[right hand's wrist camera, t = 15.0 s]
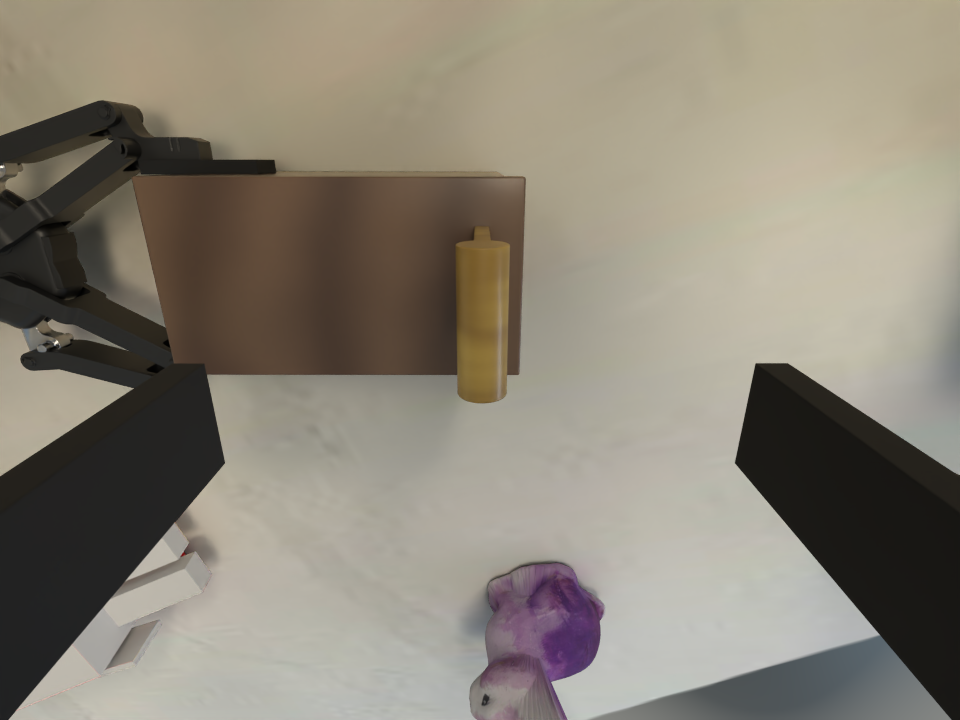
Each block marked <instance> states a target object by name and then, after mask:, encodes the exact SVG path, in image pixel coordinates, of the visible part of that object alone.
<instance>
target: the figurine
mask: <svg viewBox="0 0 960 720" xmlns="http://www.w3.org/2000/svg"><path fill="white" fill-rule="evenodd" d="M488 592H489V604H490V607H491V608H492V611H493V612H494V614H493V616H492V617H491V619H490V620H489V622H488V624H487V627H486V635H485V642H486V650H487V656H488V667H487V668H486V669H485V671H484V672H483V673H482V674H481V675H480V676H479V677H477V678H476V680H475V681H474V682H473V683H472V685H471V687H470V695H469V699H470V708H471V713H472V715H473V717H474V718H475V719H477V720H567V718H566V716H565V713H564V711H563V709H562V706H561V704H560V702H559V700H558V697H557V695H556V693H555V690H554V688H553V686H552V683H551V682H552V681H555V680H559V679H563V678H566V677H569V676H572V675H574V674H576V673H579V672H581V671H582V670H584V669H585V668H587V667H588V666H589V665H590V664H591V663H592V661H593V660H594V658H595V656H596V654H597V651H598V647H599V643H600V620H601V618H602V617H603V616H604V614H605V606H604V604H603V602H602V601H601V600H600V599H598V598H597V597H595V596H594V595H592V594H590V593H589V592H587V591H585V590H584V589H582V588H581V587H580V586H579V585H578V581H577V577H576V574H575V572H574V571H573V570H572V569H571V568H570V567H568V566H565V565H563V564H561V563H552V564H537V565H529V566H525V567H520V568H519V569H517V570H515V571H513V572H511V573H510V574H509V575H505V576H503V577H500V578H496V579H494V580H492V581H490V583H489V585H488Z"/></svg>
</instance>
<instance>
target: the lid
mask: <svg viewBox="0 0 960 720" xmlns="http://www.w3.org/2000/svg"><path fill="white" fill-rule="evenodd" d="M132 181H133V186H134V190H135V194H136V199H137V203H138V208H139V212H140V216H141V221H142V225H143V229H144V234H145V238H146V243H147V247H148V251H149V256H150V260H151V265H152V269H153V273H154V278H155V282H156V286H157V291H158V295H159V300H160V304H161V308H162V313H163V317H164V321H165V326H166V330H167V335H168V339H169V343H170V348H171V352H172V356H173V361H174V363H204V364H205V369H206V374H207V375H457V383H458V395H459V396H460V397H461V398H462V399H464V400H466V401H469V402H473V403H491V402H496V401H499V400H501V399H503V398H504V397H505V396H506V393H507V375H519V372H520V341H521V310H522V279H523V247H524V216H525V185H526V179H525V177H523V176H133V177H132Z"/></svg>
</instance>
